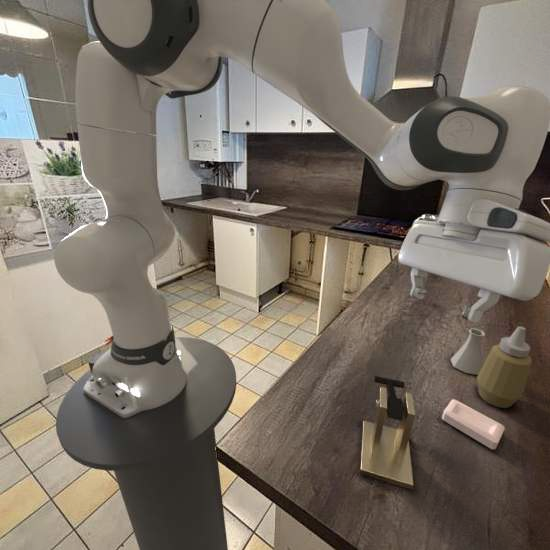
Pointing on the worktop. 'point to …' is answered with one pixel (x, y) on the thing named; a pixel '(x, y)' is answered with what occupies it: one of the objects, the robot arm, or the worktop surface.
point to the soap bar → (473, 423)
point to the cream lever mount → (388, 445)
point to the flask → (470, 353)
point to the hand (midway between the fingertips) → (440, 308)
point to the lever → (392, 398)
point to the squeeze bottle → (505, 371)
